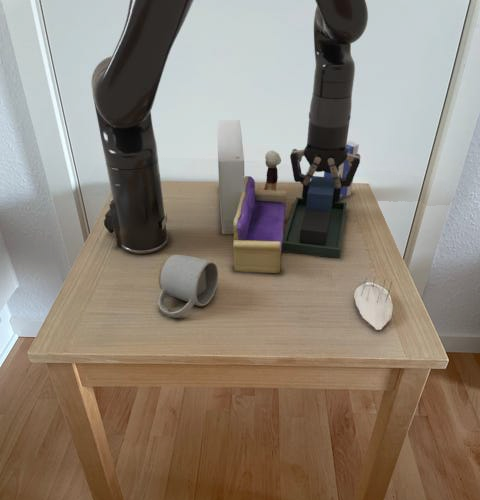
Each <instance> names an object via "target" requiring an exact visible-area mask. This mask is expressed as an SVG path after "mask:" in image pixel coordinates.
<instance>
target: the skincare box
mask: <svg viewBox="0 0 480 500" xmlns="http://www.w3.org/2000/svg"><path fill="white" fill-rule="evenodd" d="M217 170H218V172H217V173H218V191H219V204H220V205H219V207H220V221H221V222H220V223H221V233H222V235H231V234H232V235H234V225H233V224H234V218H235V217H236V214H237V210H238V206H239V202H240V198H241V194H242V192H245V154H244V147H243V135H242V128H241V120H240V119H232V120H231V119H229V120H217Z"/></svg>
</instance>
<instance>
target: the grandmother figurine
mask: <svg viewBox="0 0 480 500" xmlns="http://www.w3.org/2000/svg"><path fill="white" fill-rule="evenodd" d="M264 157H265V158H264V159H265V166H266V167H267V171H266V181H265V184H264V187H263V190H275V191H277V186H278V179H279V173H278V168H277V166H278V165H280V164H281V162H282V159H281V155H280V154H279V153H278V152H276V151H275V150H274V149H273V150H272V149H271V150H268V151H267V152H266V153H265V156H264Z"/></svg>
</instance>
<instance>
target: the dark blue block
mask: <svg viewBox="0 0 480 500" xmlns="http://www.w3.org/2000/svg"><path fill="white" fill-rule="evenodd" d="M310 182H311V183H310V187H309V189H308V193H307V204H306V210H314V211H323V212H330V213H331V208H332V200H333V193H334V185H335V184H334V180H333V178H330V177H324V176H317V175H313V176H312V178H311V180H310Z"/></svg>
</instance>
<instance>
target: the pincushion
mask: <svg viewBox="0 0 480 500" xmlns="http://www.w3.org/2000/svg"><path fill="white" fill-rule="evenodd" d="M367 279H368V278H367V277H366V278H365V280H364V282H363V283H362V284H360V285H359V286H358V287H356V288H355V290H354V295H353V297H354V301H355V306H356V308H357V309H358V310H359V315H360V316H361V317H362V319H364V320H365V321H366V322H368V324H369V325H371V326H372V327H373V328H374V329H375V330H376V331H377V330H378V331H381V330H382V329H383V328H384V327H385V326H386V325H387V324H388V322H390V321H391V319H392V317H393V310H394V309H393V308H394V305H393V301H392V297H391V295H390V292H391V289H388V290H387V289H386V288H385V285H383V286H381V285H379V284H375V279H376V278H374V280H373V282H367V281H366V280H367ZM392 282H393V281H391V282H390V284H392ZM385 283H386V277H385V278H384V282H383V284H385ZM391 287H392V285H390V286H389V288H391Z"/></svg>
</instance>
